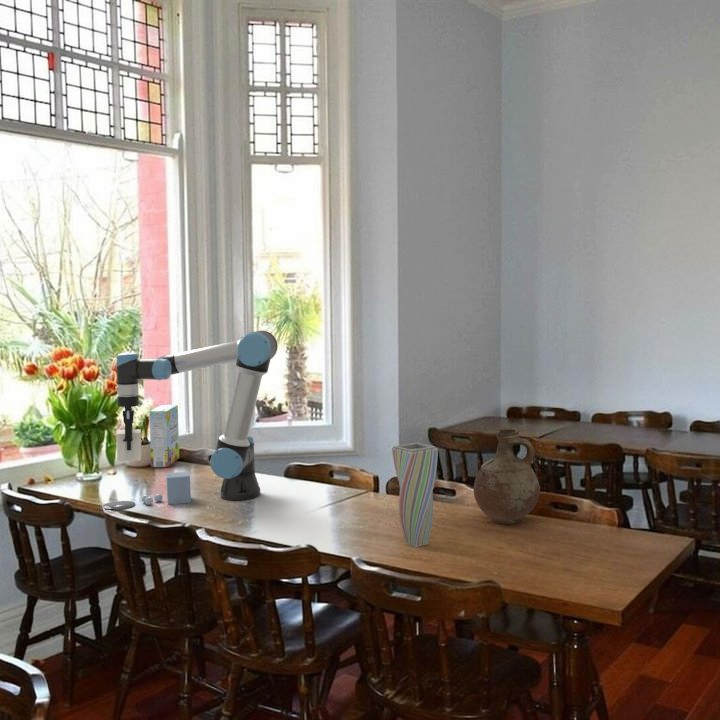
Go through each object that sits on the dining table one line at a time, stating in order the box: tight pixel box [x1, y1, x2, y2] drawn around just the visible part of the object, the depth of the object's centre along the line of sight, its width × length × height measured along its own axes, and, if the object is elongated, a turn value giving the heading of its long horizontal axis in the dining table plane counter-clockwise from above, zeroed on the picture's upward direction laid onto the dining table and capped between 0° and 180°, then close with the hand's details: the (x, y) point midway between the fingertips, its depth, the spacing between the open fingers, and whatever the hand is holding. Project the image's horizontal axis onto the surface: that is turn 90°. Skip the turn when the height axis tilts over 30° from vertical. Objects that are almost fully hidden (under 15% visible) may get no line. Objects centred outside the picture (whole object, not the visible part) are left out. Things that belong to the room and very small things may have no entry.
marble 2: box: [144, 496, 154, 506], centre depth 318 cm, size 3×3×3 cm
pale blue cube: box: [165, 471, 192, 505], centre depth 322 cm, size 8×8×10 cm
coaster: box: [103, 500, 136, 511], centre depth 317 cm, size 11×11×1 cm
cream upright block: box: [116, 428, 142, 462], centre depth 317 cm, size 8×8×10 cm
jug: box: [473, 428, 541, 525], centre depth 282 cm, size 22×22×30 cm
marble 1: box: [141, 494, 150, 504], centre depth 321 cm, size 3×3×3 cm
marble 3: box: [153, 493, 163, 503], centre depth 322 cm, size 3×3×3 cm
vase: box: [391, 442, 439, 548], centre depth 260 cm, size 14×14×30 cm
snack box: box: [149, 404, 180, 468], centre depth 393 cm, size 22×9×26 cm, turn 179°
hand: (129, 456), depth 317 cm, fingers closed on cream upright block, 8 cm apart
